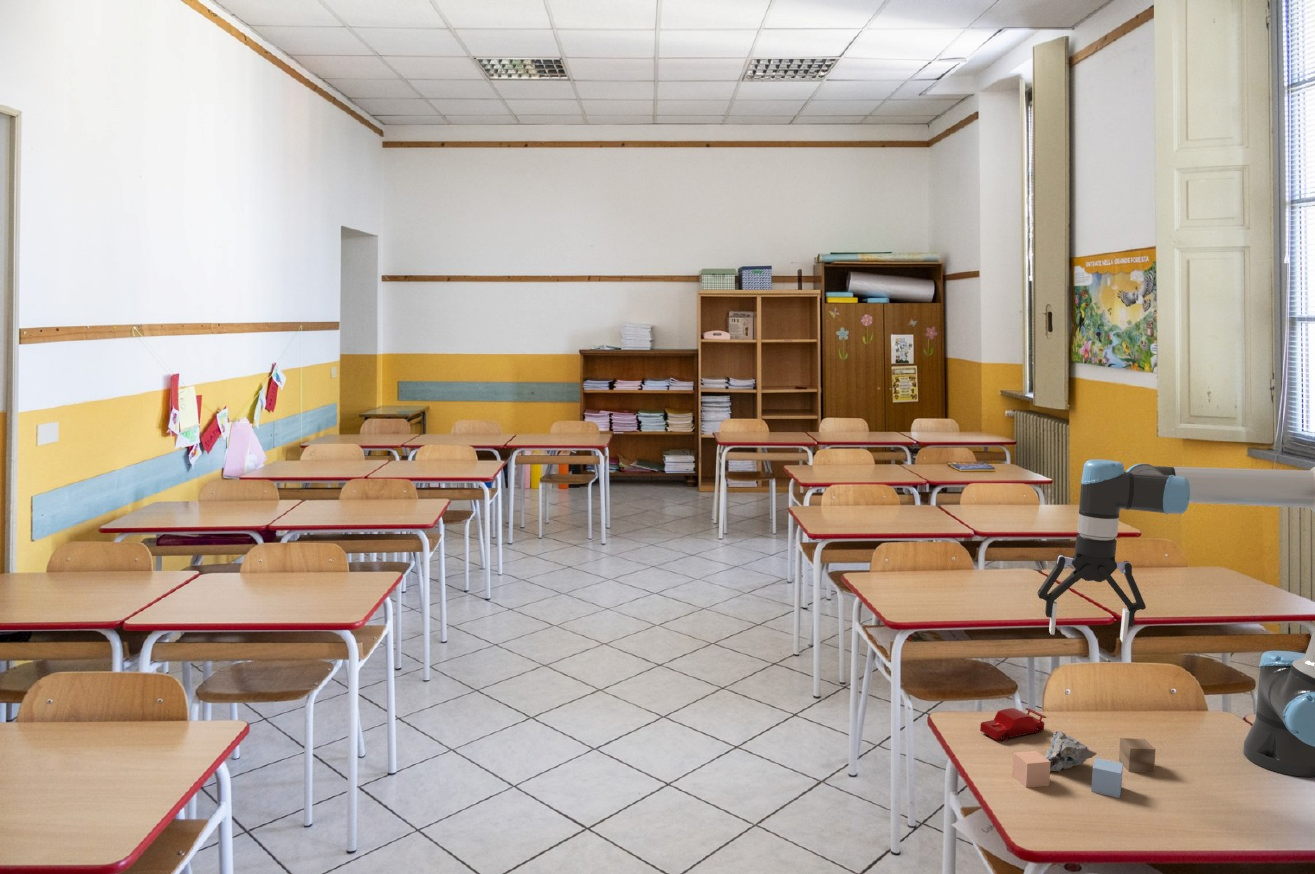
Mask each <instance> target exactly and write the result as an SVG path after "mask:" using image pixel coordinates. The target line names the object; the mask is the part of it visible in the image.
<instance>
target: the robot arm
mask: <svg viewBox="0 0 1315 874" xmlns="http://www.w3.org/2000/svg"><path fill="white" fill-rule="evenodd" d="M1079 491H1080V492H1079V506H1078V509H1079V510H1078V519H1077V528H1076V531H1077V533H1078V534H1077V535H1076V536H1075V537H1076V538H1075V545H1074V547H1075V548H1074V555H1073V557H1069V556H1064V554H1059V555H1058V556H1057V558H1056V564H1055V565H1054V567H1053V569H1051V571H1050V573H1049V574H1048V576H1047V577H1046V578H1045V580H1044V582H1043V583H1042V584H1041V586H1040V588H1039V589H1038V591H1037V592H1036V593H1037V596H1038V598H1039V599H1040V600H1044V601H1045V609H1044V612H1045V613H1044V614H1045V617H1046V618H1049V626H1048V627H1049V629H1048V630H1049V631H1048V632H1049V633H1050V635H1055V632H1056V621H1057V611H1058V603H1057V599H1059V597H1061V596H1062V595H1063V594H1064V593H1066V591H1067V590H1068V589H1070V587H1072V586H1073V585H1074V584H1075V583H1077V582H1078V581H1080V580H1081V579H1082V580H1084V581H1085V582H1092V581H1094V582H1096V583H1102V582H1105V581H1107V583H1108V585H1110V587H1111V588H1112V589H1113V591H1114V592H1115V593H1116V595H1117V596H1118V597H1119V599H1120V600H1121V601H1122V602H1123V603H1124V605H1125V607H1126V608H1125V607H1123V608H1122V611H1121V612H1122V614H1121V624H1120V632H1119V640H1120V642H1121V643H1122V644H1126V643H1127V639H1128V630H1129V629H1128V628H1129V627H1134V626H1135V625H1134V624H1135V618H1136V617H1135V616H1136V612H1137V611H1140V610H1142V611H1143V610H1146V608H1147V606H1146V603H1145V601H1144V599H1143V597H1142V594H1141V592H1140V590H1139V588H1138V587H1139V586H1138V585H1137V582H1136V580H1135V578H1134V576H1133V566H1132V564H1131V562H1130V561H1129V560H1124V561H1121V562H1120V561H1119V562H1118V561H1116V553H1117V539H1116V537H1117V536H1118V532H1119V519H1120V512H1121V510H1125V511H1126V510H1127V511H1128V510H1129V511H1130V510H1131V511H1139V512H1140V511H1141V512H1150V513H1151V512H1152V513H1160V514H1161V513H1162V514H1164V515H1168V514H1179V515H1181V514H1184V513H1186V511H1187V509H1188V507H1189V504H1205V505H1206V504H1207V505H1208V504H1209V505H1211V504H1212V505H1228V506H1229V505H1232V506H1233V505H1236V506H1253V507H1257V506H1258V507H1278V508H1279V507H1280V508H1281V507H1283V508H1302V509H1303V508H1304V509H1305V508H1306V509H1307V508H1308V509H1310V510H1311V511H1312V512H1313V513H1314V514H1315V465H1314V467H1312V468H1311V469H1309V470H1305V469H1304V470H1301V469H1300V470H1299V469H1273V468H1272V469H1268V468H1267V469H1266V468H1265V469H1263V468H1237V467H1236V468H1234V467H1232V468H1230V467H1227V468H1225V467H1199V466H1198V467H1195V466H1194V467H1193V466H1165V465H1164V466H1161V465H1158V466H1157V465H1152V464H1149V463H1136V464H1133V465H1132V466H1130V467H1129V468H1127V470H1125V465H1124V464H1123V463H1122V462H1121V461H1117V460H1109V459H1099V458H1098V459H1096V458H1095V459H1089V460H1087V461H1086V462H1084V464H1083V469H1082V475H1081V480H1080V490H1079ZM1070 564H1071V565H1072V566H1073V568H1074V570H1073V571H1072V572H1070V574H1069V575H1068V576H1067V577H1066V578H1065V579H1063V580H1062V581H1061V582H1060V583H1058V585H1057V586H1056V587H1054V589H1052V590H1051V588H1052V587H1053V585H1054V584H1055V582H1056V581H1057V580H1058V578H1059V577H1060V575H1062V572H1063V571H1064V568H1067V567H1068V566H1069V565H1070ZM1117 569H1118V570H1119V572H1120V573H1122V574H1123V576H1124V577H1125V578H1124V579H1125V580H1126V582H1127V584H1128V587H1129V589H1130V591H1131V594H1132V595H1133V598H1134V600H1135V602H1132V600H1131V599H1130V598H1129V597H1128V596H1127V595H1126V593H1125V592H1124V591H1123V589H1122V588H1121V587H1120V585H1119V584H1118V583H1117V581H1116V580H1115V579H1114V578H1113V576H1112V574H1113V573H1114V572H1115V571H1116V570H1117ZM1050 590H1051V591H1050ZM1258 667H1259V672H1258V673H1259V674H1258V684H1257V685H1258V686H1257V697H1256V698H1257V699H1256V710H1255V711H1256V712H1255V719H1254V722H1253V723H1252V726H1251V727H1250V729H1249V731H1248V733H1247V735H1246V737H1245V739H1244V742H1243V749H1242V754H1243V755H1244V757H1246V758H1247V760H1249V761H1250V762H1251V763H1254V764H1255V765H1258V766H1259V767H1262V768H1264V769H1266V770H1267V769H1268V770H1270V771H1273V772H1277V773H1281V774H1284V775H1290V776H1295V777H1306V778H1311V777H1312V778H1313V777H1315V628H1314V630H1313V632H1312V635H1311V638H1310V640H1309V643H1308V647H1307V649H1306V652H1305V653H1302V652H1296V651H1286V650H1285V651H1284V650H1267V651H1265V652H1263V653H1262V655H1261V657H1260V663H1259V665H1258Z"/></svg>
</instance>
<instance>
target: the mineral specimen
mask: <svg viewBox="0 0 1315 874" xmlns="http://www.w3.org/2000/svg"><path fill="white" fill-rule="evenodd" d="M1050 743H1051V745H1050V746H1051V748H1050V749H1048V750H1046V755H1043V756H1044V757H1045V758H1046V759H1048V760H1049V761H1050V762H1051V763H1050V772H1052V771H1053V772H1061V770H1062V769H1071V768H1072V767H1073V766H1079V765H1083V764H1084V763H1085V762H1086V761H1087V760H1088V759H1092V758H1093V757H1094V756H1096V755H1097V754H1098V753H1097V752H1096V751H1094V750H1090V749H1089V748H1088V746H1087V745H1085V744H1083V743H1081V742H1080V741H1079V740H1077V739H1076V738H1074V737H1072V736H1070V735H1066V733H1065V732H1063V731H1061V730H1060V731H1053V734H1052V738H1051V739H1050Z"/></svg>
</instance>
